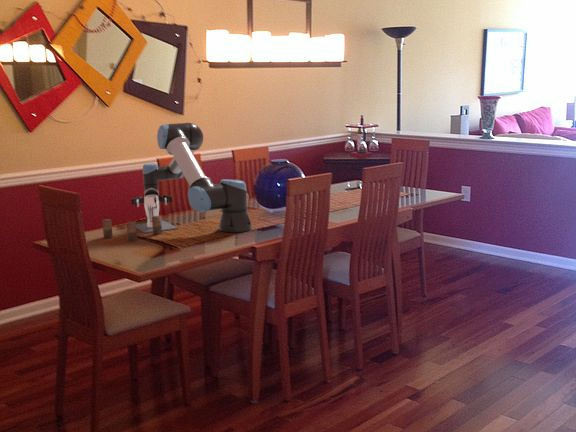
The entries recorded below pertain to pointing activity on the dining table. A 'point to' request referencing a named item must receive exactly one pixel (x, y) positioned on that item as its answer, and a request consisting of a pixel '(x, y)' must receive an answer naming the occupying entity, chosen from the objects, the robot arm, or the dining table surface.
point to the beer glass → (151, 208)
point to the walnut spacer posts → (131, 228)
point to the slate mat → (149, 230)
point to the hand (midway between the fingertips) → (151, 203)
